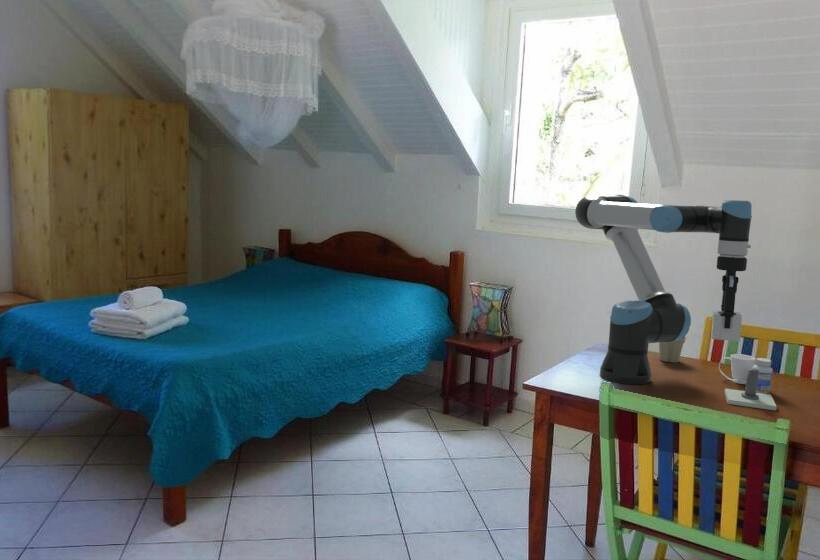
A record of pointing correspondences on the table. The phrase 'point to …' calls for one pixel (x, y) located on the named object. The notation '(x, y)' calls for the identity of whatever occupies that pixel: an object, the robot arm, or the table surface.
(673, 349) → the flower pot
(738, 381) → the cup
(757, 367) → the pill bottle
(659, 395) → the table surface
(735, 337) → the hollow grey square tube
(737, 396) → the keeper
